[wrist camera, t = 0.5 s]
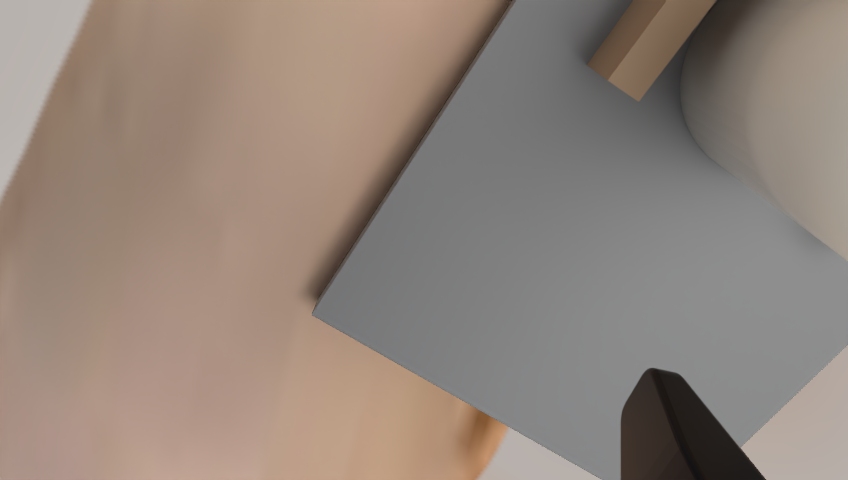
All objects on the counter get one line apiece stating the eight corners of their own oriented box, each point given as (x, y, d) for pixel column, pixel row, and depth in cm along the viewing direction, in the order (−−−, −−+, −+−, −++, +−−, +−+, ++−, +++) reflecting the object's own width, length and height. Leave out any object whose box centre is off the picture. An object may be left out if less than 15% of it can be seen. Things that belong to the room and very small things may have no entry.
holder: (659, 494, 27) (692, 582, 23) (318, 298, 25) (291, 361, 21) (1211, -47, 19) (1403, -50, 15) (789, -426, 16) (890, -547, 13)
